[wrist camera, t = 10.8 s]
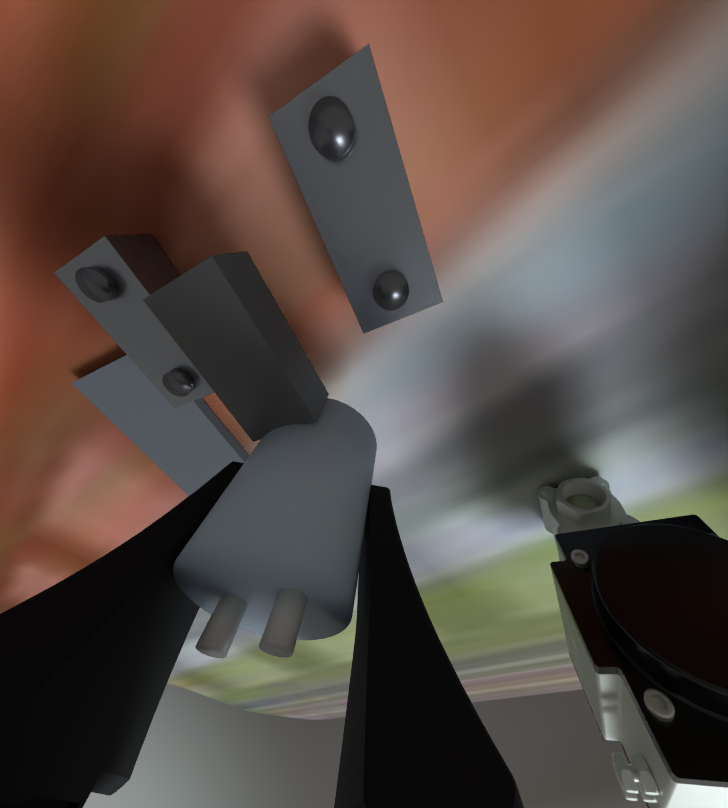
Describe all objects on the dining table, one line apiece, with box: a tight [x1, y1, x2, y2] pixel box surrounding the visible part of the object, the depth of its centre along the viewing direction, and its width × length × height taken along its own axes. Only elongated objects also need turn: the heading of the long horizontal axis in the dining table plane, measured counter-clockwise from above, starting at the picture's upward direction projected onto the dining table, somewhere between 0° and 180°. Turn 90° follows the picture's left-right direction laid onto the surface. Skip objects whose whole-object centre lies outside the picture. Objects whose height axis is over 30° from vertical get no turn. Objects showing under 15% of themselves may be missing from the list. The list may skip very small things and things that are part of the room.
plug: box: [143, 251, 377, 658], centre depth 8 cm, size 9×4×7 cm, turn 25°
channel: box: [54, 44, 443, 409], centre depth 11 cm, size 6×13×3 cm, turn 114°
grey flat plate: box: [72, 355, 249, 496], centre depth 17 cm, size 11×6×1 cm, turn 24°
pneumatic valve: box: [538, 476, 728, 808], centre depth 12 cm, size 6×12×12 cm, turn 24°
